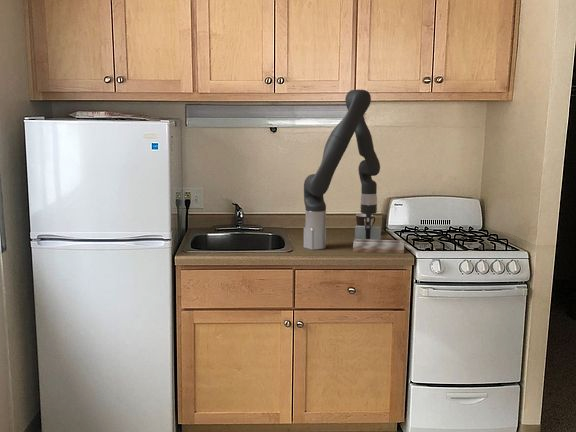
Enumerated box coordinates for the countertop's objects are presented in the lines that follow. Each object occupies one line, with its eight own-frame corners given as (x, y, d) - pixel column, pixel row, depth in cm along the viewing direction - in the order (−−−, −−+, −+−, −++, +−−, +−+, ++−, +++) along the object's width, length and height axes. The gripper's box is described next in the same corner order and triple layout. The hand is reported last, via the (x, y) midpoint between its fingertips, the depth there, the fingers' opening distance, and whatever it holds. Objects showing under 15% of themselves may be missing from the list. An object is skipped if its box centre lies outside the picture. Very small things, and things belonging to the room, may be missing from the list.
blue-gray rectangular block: (354, 243, 270) (355, 226, 269) (355, 241, 274) (355, 225, 273) (380, 244, 268) (380, 227, 267) (380, 242, 272) (381, 226, 271)
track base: (352, 251, 253) (353, 242, 253) (354, 247, 262) (354, 238, 261) (403, 253, 250) (404, 244, 249) (403, 249, 258) (403, 240, 258)
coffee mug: (359, 236, 285) (359, 217, 284) (353, 233, 294) (353, 214, 292) (381, 235, 288) (381, 215, 287) (374, 232, 297) (374, 213, 295)
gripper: (361, 200, 275) (361, 234, 278) (359, 205, 261) (359, 240, 264) (377, 201, 274) (376, 234, 277) (376, 205, 260) (376, 240, 263)
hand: (368, 237), depth 270 cm, fingers open, 8 cm apart
